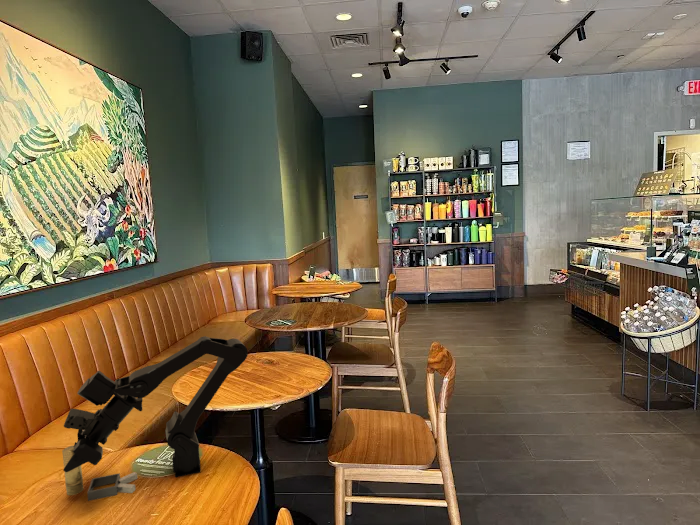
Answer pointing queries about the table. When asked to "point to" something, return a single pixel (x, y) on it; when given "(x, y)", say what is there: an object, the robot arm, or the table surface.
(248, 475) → the table surface
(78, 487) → the gold metal cylinder
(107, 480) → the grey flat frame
